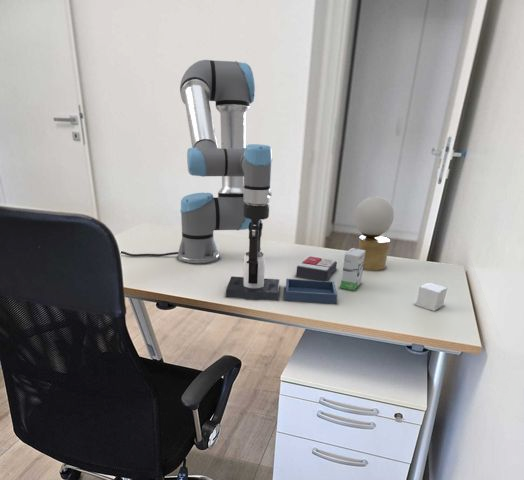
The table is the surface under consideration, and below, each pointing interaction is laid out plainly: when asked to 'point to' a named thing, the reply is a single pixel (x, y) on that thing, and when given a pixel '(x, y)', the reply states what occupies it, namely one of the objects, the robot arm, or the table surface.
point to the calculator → (316, 268)
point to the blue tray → (310, 291)
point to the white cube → (431, 296)
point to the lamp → (374, 230)
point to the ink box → (352, 268)
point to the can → (260, 271)
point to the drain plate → (253, 289)
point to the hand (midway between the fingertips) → (253, 278)
